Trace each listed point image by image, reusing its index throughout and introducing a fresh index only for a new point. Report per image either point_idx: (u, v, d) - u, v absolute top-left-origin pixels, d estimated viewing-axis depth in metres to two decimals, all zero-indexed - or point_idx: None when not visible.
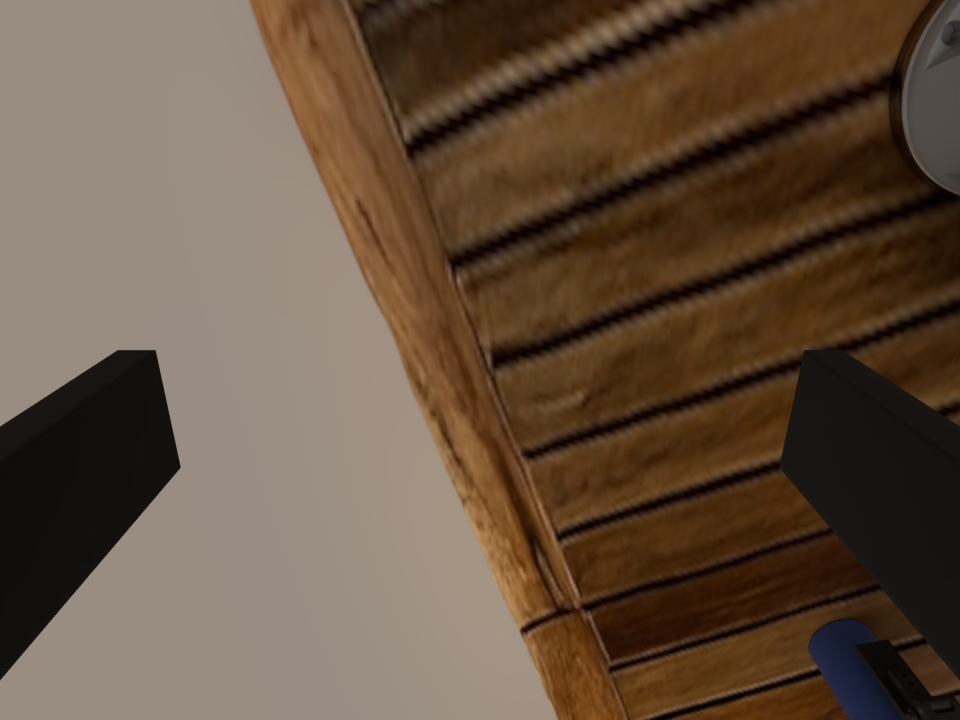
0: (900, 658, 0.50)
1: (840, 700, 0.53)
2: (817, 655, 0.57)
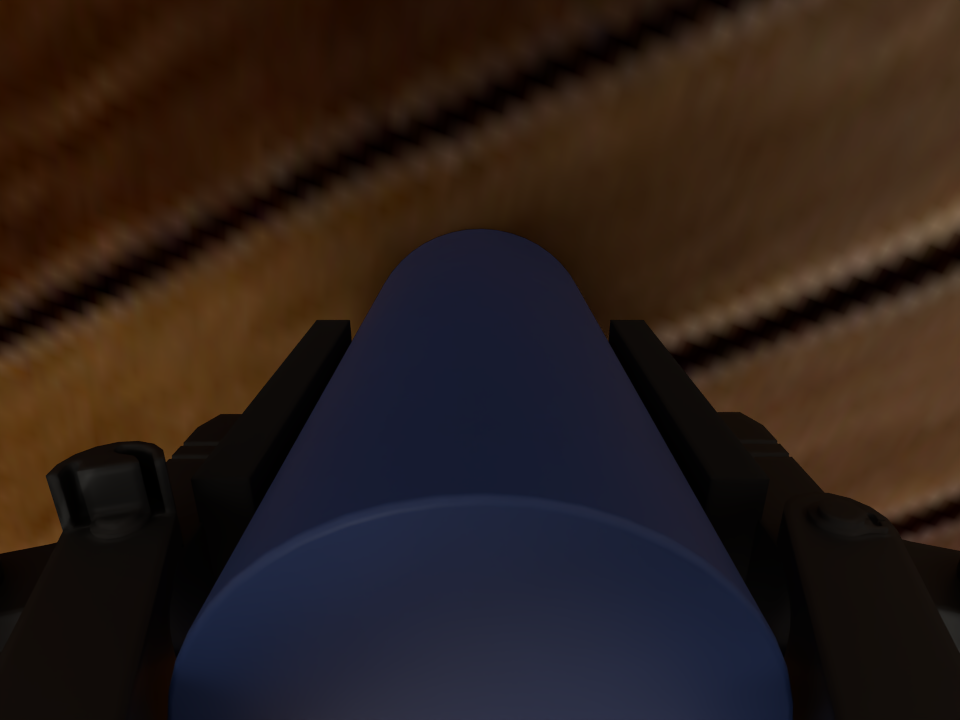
0: None
1: None
2: None
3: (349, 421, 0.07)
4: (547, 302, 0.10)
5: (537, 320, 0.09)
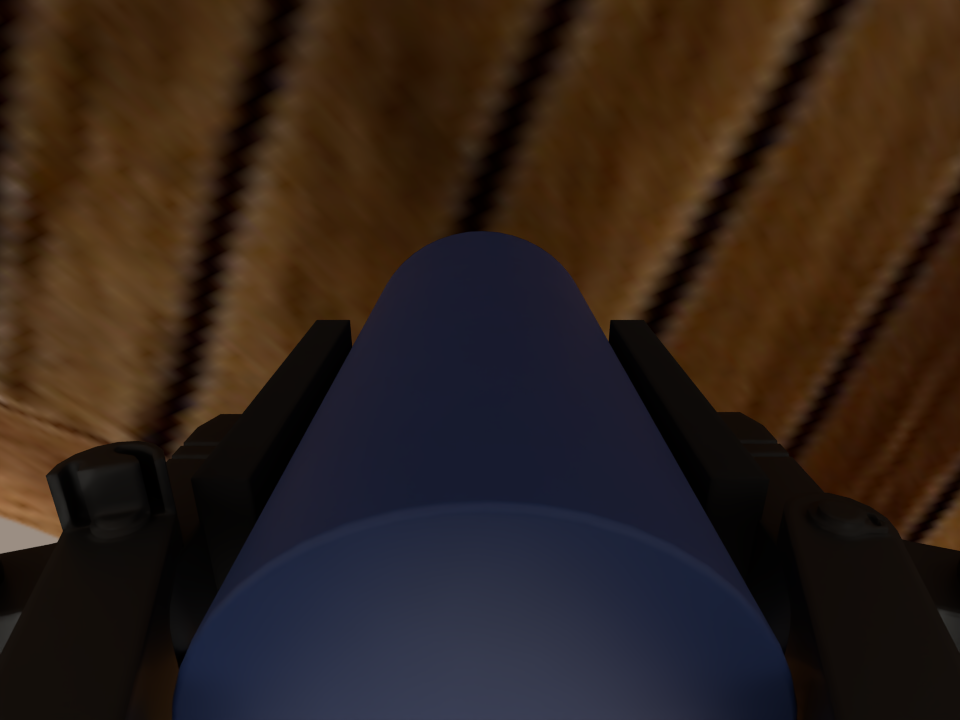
0: None
1: None
2: None
3: (352, 426, 0.07)
4: (549, 305, 0.10)
5: (539, 324, 0.09)
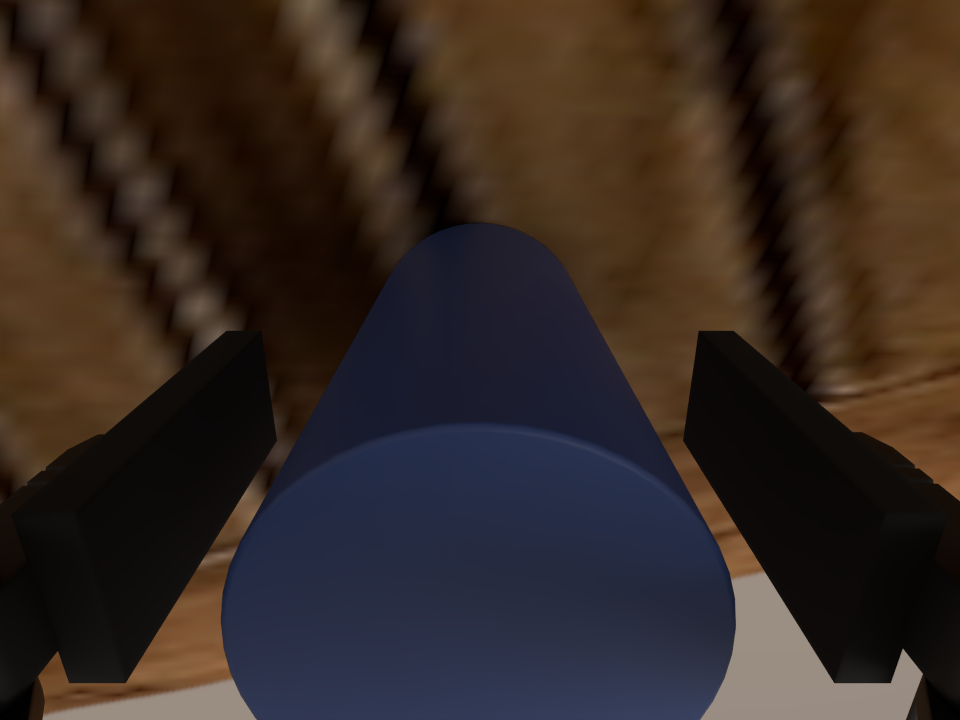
0: None
1: None
2: None
3: (368, 377, 0.08)
4: (539, 286, 0.12)
5: (529, 299, 0.10)
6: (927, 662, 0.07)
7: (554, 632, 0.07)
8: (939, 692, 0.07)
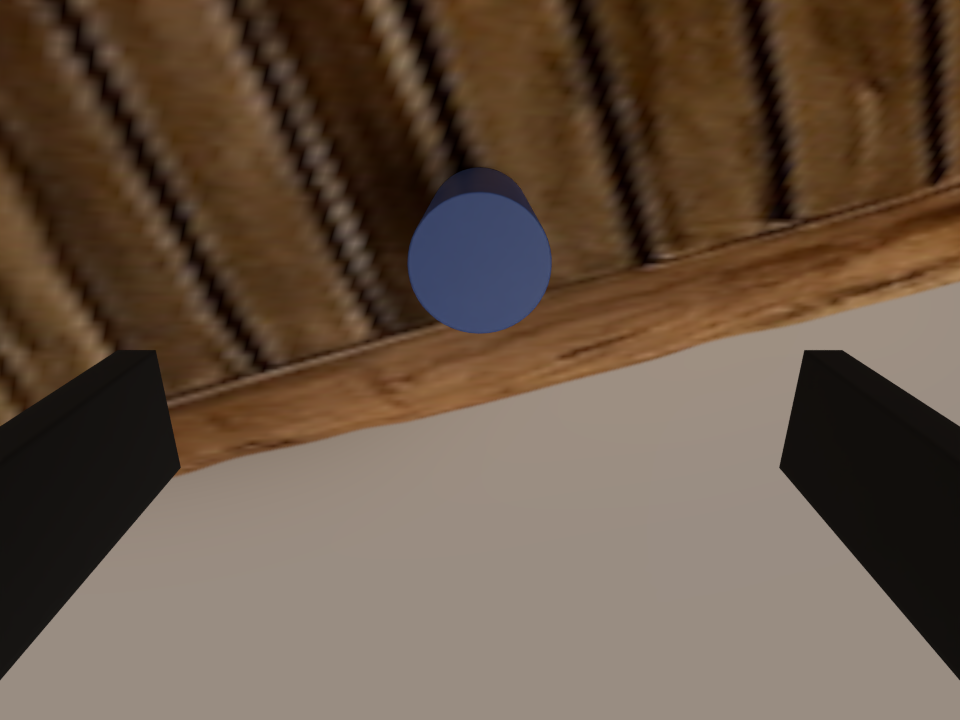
0: None
1: None
2: None
3: (446, 194, 0.26)
4: (503, 182, 0.30)
5: (498, 182, 0.28)
6: None
7: (500, 258, 0.25)
8: None
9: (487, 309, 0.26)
